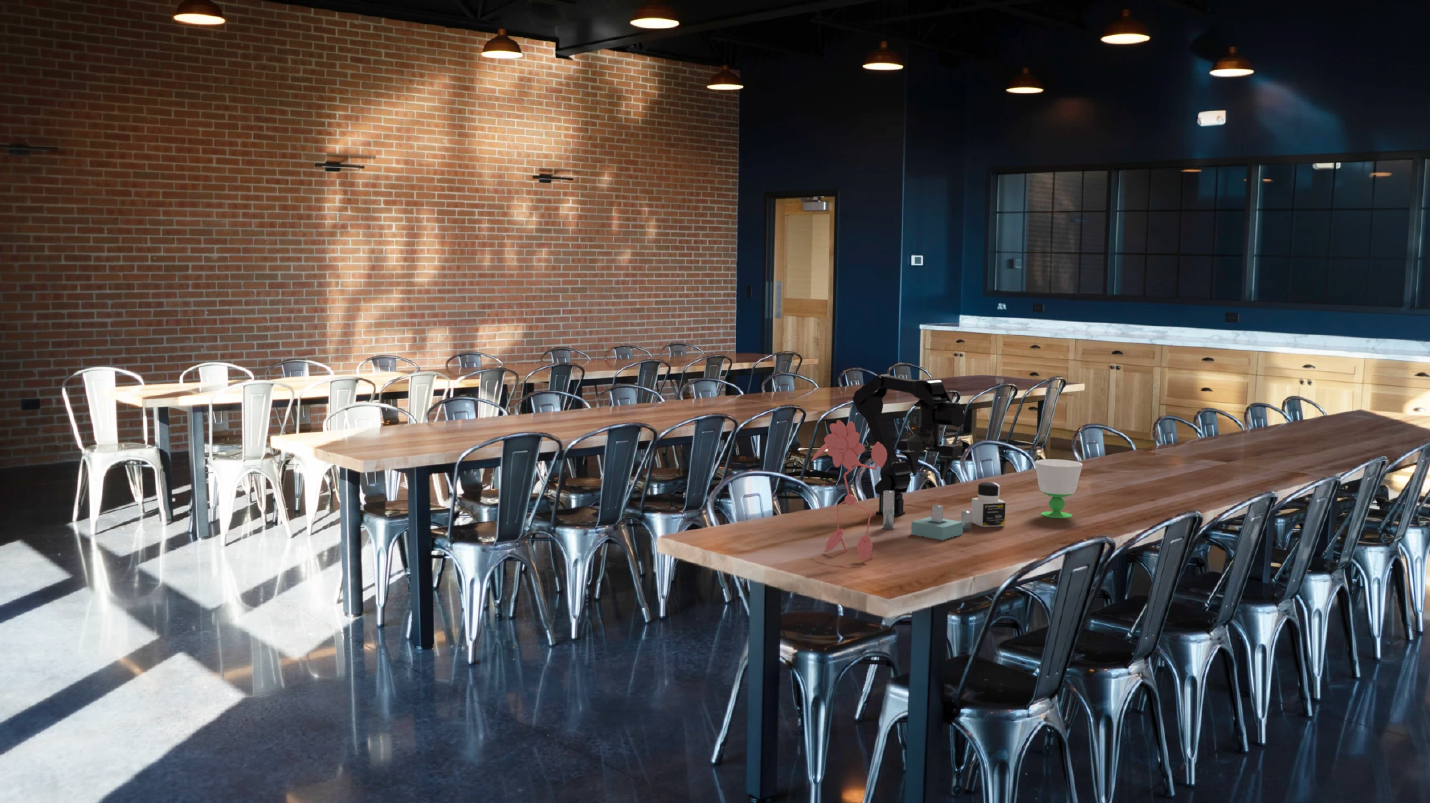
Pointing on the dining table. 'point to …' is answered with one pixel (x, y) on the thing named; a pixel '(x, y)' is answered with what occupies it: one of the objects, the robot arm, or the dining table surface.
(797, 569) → the dining table surface
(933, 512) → the pin medium
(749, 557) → the dining table surface
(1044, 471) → the cup
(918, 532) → the socket block
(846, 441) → the figurine
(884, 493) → the pin long
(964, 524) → the pin short
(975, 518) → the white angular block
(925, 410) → the robot arm
